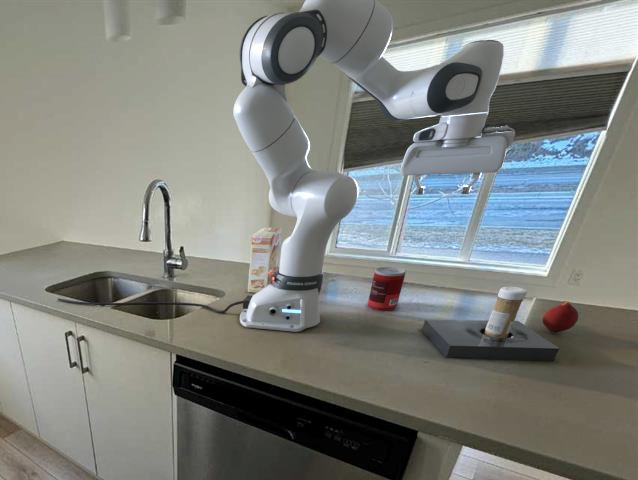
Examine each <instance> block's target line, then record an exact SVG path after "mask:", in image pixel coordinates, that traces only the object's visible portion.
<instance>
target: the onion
mask: <svg viewBox="0 0 638 480" xmlns="http://www.w3.org/2000/svg"><path fill="white" fill-rule="evenodd" d="M578 320H579V311H577V309H576V307H574V306H573V305H572V304H571V303H570V301H568V300H564V301H562V304H558V305H554V306H552V307H551V308H549V309H548V310H546V312H545V313H544V314H543V316H542V324H543V325H544V327H545V328H546V329H547V330H548V331H549V333H552V334H557V333H561V332H564V331H567V330H570V329H571V328H573V327H574V326H575V325H576V324H577V322H578Z"/></svg>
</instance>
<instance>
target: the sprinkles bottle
mask: <svg viewBox="0 0 638 480" xmlns="http://www.w3.org/2000/svg"><path fill="white" fill-rule="evenodd" d="M527 293H528V290H527V289H525V288H522V287H517V286H503V287H501V288H500V289H499V291H498V293H497V296H496V297H497V299H496V301H495V303H494V306H493V308H492V310H491V313H490V316H489V318H488V320H489V321H488V324H487V326H486V329H485V333H484V335H486V336H490V337H495V338H507V337H508V334H509V333H510V330H511V328H512V325H513V323H514V321H516V317H517V314H518V313H519V310H520V308H521V306H522V305H521V304H522V303H523V301H524V299H525V298H526V295H527Z"/></svg>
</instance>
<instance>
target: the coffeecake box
mask: <svg viewBox="0 0 638 480" xmlns="http://www.w3.org/2000/svg"><path fill="white" fill-rule="evenodd" d="M282 230H283V227H262V228H261V229H259V230H257V231H256V232H255V233H253V234H252V235H251V245H250V258H249V271H248V282H247V283H248V284H247V293H253V294H256V293H258V292H259V291H261V290H262V289H264V288H265V287H267V286H268V285H270V279H271V278H270V277H269V271H270V270H275V271H276V272H277V271H278V269H279V260H280V251H281V241H282V232H283V231H282Z"/></svg>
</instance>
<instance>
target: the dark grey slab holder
mask: <svg viewBox="0 0 638 480" xmlns="http://www.w3.org/2000/svg"><path fill="white" fill-rule="evenodd" d="M488 321H489V319H486V320H485V319H484V320H482V319H481V320H480V319H475V320H474V319H424V322H423V325H422V328H421V331H422V332H423V333H424V335H426V336H427V338H428V339H429V340H430V341H431V342H432V343H433V344H434V345H435V347H436V348H437V349H438V350H439V351H440V352H441V353H442V354H443V355H444V357H446V358H456V359H457V358H458V359H482V360H483V359H485V360H486V359H487V360H512V361H513V360H514V361H543V362H545V361H546V362H554V361H555V359H556V357H557V355H558V353H559V351H560V348H559V347H558V346H557V345H556V344H555V343H552V342H550V341H549V340H548V339H546V337H545V338H544V337H543V336H542V335H540V334H538V333H537V332H535V331H534V330H533V329H532V328H530V327H529V326H527V325H525V324H524V323H522V322H521V321H520V320H514V323H513V325H512V328H511V330H510V333H509V334H508V337H507V338H495V337H490V336H486V335H484V333H485V329H486V326H487V324H488Z"/></svg>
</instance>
